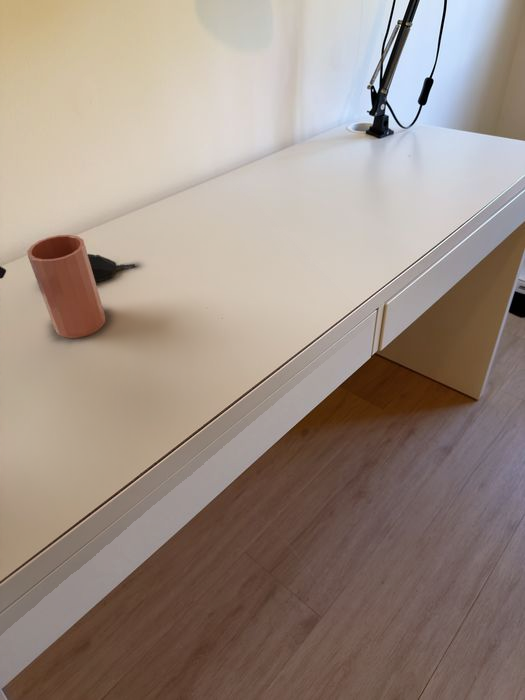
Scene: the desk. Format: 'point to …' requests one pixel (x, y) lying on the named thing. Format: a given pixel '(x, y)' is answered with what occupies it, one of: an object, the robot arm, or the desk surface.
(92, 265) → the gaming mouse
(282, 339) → the desk surface
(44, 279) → the pen cup
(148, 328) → the desk surface
